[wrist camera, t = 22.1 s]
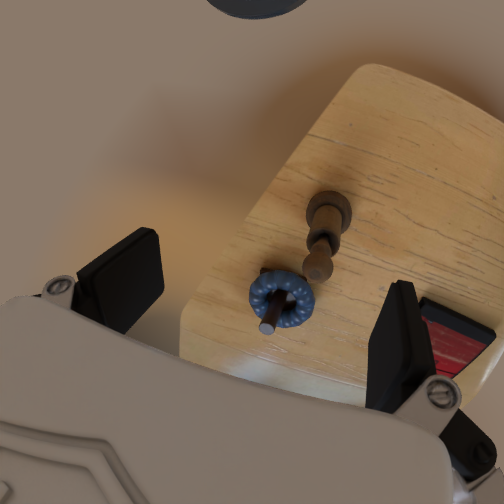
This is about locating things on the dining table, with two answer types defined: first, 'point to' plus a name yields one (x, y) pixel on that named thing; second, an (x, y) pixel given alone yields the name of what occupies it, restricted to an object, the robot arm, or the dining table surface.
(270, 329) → the stand
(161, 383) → the robot arm
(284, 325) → the blue ring
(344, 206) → the mortar and pestle
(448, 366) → the ink pad
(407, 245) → the dining table surface
